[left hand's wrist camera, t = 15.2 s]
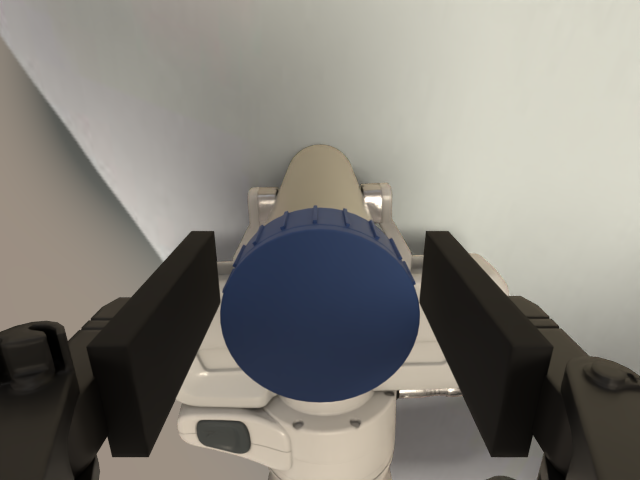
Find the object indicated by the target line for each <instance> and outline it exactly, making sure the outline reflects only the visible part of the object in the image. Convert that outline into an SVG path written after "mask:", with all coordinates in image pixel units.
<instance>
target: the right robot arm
mask: <svg viewBox="0 0 640 480" xmlns="http://www.w3.org/2000/svg"><path fill="white" fill-rule="evenodd" d="M360 189H361V192H362V194H363V196H364V199H365V201H366V204H367V206H368V209H369V211H370V214H371V216H372V219H373V221H374V223H379V225H380V226H381V228H382V230H383V231H384V233H385V235H386V236H387V237H388V238H389V239H390V238H392V239H393V240H394V242H395V244H396V246H397V248H398V250H399V252H400V254H401V256H402V258H403V259H402V261H405V262H406V264H407V266H408V268H409V270H410V272H411V274H412V276H413V278H414V280H415V283H416V285H414V287H415V289H416V293H417V296H418V300H419V299H420V288H421V278H422V268H423V257H424V255H412V253H411V251H410V249H409V248H408V246H407V244H406V242H405V240H404V239H403V237H402V235H401V233H400V232H399V230H398V228H397V227H396V225H395V223H394V221H393V220H392V190H391V186H390V185H389V184H388V183H369V184H361V186H360ZM278 192H279V188H278V187H254V188H251V189H250V190H249V192H248V211H249V221H250V224H249V226H248V228H247V230H246V232H245V234H244V236H243V238H242V240H241V242H240V245H239V247H238V249H237V251H236V253H235V255H234V257H233V259H232V260H233V261H225V262H217V268H218V278H219V288H220V299H221V300H222V297H223V293H222V290H223V288H224V286H225V284H226V282H227V280H228V278H229V275H230V273H231V271H232V269H233V268H234V267H233V264H234V262H235V260H236V258H237V255H238V253H239V251H240V249H241V247H242V246H243V244H244V245H245V246H246V245H247V243H248V242H249V240H250V239H251V238H252V237H253V236H254V235H255V234H256V233H257V231H258V229H259V227H260V226H261V225H263V226H265V224H266V221H267V219H268V216H269V214H270V211H271V209H272V206H273V204H274V202H275V199H276V197H277V194H278ZM469 254H470V255H471V257H472V258H473V259H474V260H475V261H476V262H477V263H478V264H479V265H480V266H481V267H482V269H483V270H484V271H485V272H486V273H487V274H488V275H489V276H490V277H491V278H492V280H493V281H494V282H495V283H496V284H497V285H498V286H499V287H500V288H501V289H502V291H503V292H504V293H505V294H506V295H507V296H509V290H508V286H507V284H506V282H505V281H504V279H503V278H502V277H501V275H500V274H499V273H498V272H497V271H496V269H495V268H494V267H493V266H492V265H491V264H489V263H488V262H487V261H486V260H485V259H484V258H483V257H482V256H480V255H478V254H474V253H469ZM220 308H221V303H220V305H219V308H218V310H217V312H216V314H215V316H214V318H213V320H212V323H211V325H210V327H209V329H208V331H207V333H206V335H205V338H204V340H203V342H202V344H201V346H200V348H199V350H198V352H197V355H196V357H195V359H194V361H193V363H192V365H191V367H190V370H189V372H188V374H187V376H186V378H185V380H184V382H183V385H182V387H181V389H180V391H179V393H178V395H177V397H176V400H177V401H179V402H181V403H182V406H181V409H180V413H179V417H178V421H177V427H178V432H179V435H180V437H181V439H182V440H183V441H185V442H186V443H188V444H191V445H194V446H199V447H203V448H208V449H213V450H217V451H222V452H225V453H229V454H233V455H237V456H240V457H243V458H246V459H249V460H252V461H255V462H257V463H260V464H262V465H265V466H267V467H268V468H269V470H270V473H269V478H268V480H392V477H391V473H390V469H389V466H390V464H391V461H392V458H393V452H394V446H395V419H396V400H397V399H398V398H423V397H430V396H438V395H440V396H442V395H446V396H447V397H458V396H463V395H462V393H461V391H460V389H459V387H458V385H457V382H456V380H455V378H454V376H453V374H452V372H451V370H450V367H449V365H448V363H447V361H446V359H445V357H444V355H443V352H442V350H441V348H440V346H439V344H438V342H437V340H436V338H435V335H434V333H433V331H432V329H431V327H430V325H429V323H428V320H427V318H426V316H425V314H424V312H423V310H422V308H421V305H420V303H419V308H420V324H419V330H418V335H417V338H416V341H415V344H414V346H413V348H412V350H411V352H410V354H409V356H408V358H407V359H406V361H405V362H404V363H403V365H402V366H401V367H400V368H399V369H398V370H397V372H396V373H395V374H394V375H392V376H391V377H390V378H389V379H388V380H387V381H385V382H384V383H382V384H381V385H379V386H378V387H376V388H375V389H373V390H371V391H369V392H367V393H365V394H362V395H359V396H357V397H354V398H350V399H346V400H342V401H335V402H323V403H317V402H305V401H298V400H294V399H290V398H286V397H283V396H281V395H278V394H276V393H273V392H271V391H269V390H267V389H266V388H264V387H262V386H261V385H259V384H258V383H256V382H255V381H253V380H252V379H251V378H250V377H249V376H248V375H246V374H245V373H244V372H243V370H242V369H241V368H240V367H239V366H238V365H237V363H236V362H235V360H234V359H233V357H232V356H231V354H230V352H229V350H228V348H227V346H226V344H225V341H224V338H223V335H222V330H221V324H220ZM486 480H515V479H513V478H510V477H506V476H494V477H491V478H489V479H486Z"/></svg>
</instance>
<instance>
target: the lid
mask: <svg viewBox="0 0 640 480" xmlns="http://www.w3.org/2000/svg"><path fill="white" fill-rule="evenodd" d="M402 259H403V258H402V256H401V254H400V252H399V250H398V248H397V246H396V244H395V242H394V240H393V239H392V238H390V239H389V238H388V237H387V236H386V235H385V234H384V233H383V232H382V231H381V230H380V229H379V228H378V227H377V226H375V224H374V221H372V220H371V219H370V221H368V220H366V219H364V218H362V217H360V216H358V215H356V214H353V213H350V212H347V209H345V208H343V210H339V209H333V208H317V205H314V206H313V208H307V209H302V210H296V211H293V212H290V213H289V212H288V211H285V212H284V215H282V216H280V217H278V218H276V219H274V220H272V221H271V222H269V223H268V224H266V225H265V226H263V225H261V226H260V227H259V229H258V231H257V233H256V234H255V235H254V236H253V237H252V238H251V239H250V240H249V242H248V243H247V245H246V246H245V245H244V244H243V246H242V247H241V249H240V251H239V253H238V255H237V258H236V260H235V262H234V264H233V267H234V268H233V269H232V271H231V273H230V275H229V278H228V280H227V282H226V284H225V286H224V288H223V290H222V293H223V297H222V300H221V308H220V324H221V330H222V335H223V338H224V341H225V344H226V346H227V348H228V350H229V352H230V354H231V356H232V357H233V359H234V360H235V362H236V363H237V365H238V366H239V367H240V368H241V369H242V370H243V372H244V373H245V374H246V375H248V376H249V377H250V378H251V379H252V380H253V381H255V382H256V383H258V384H259V385H261V386H262V387H264V388H266V389H267V390H269V391H271V392H273V393H276V394H278V395H281V396H283V397H286V398H290V399H294V400H298V401H305V402H317V403H323V402H335V401H342V400H346V399H350V398H354V397H357V396H359V395H362V394H365V393H367V392H369V391H371V390H373V389H375V388H376V387H378V386H379V385H381V384H382V383H384V382H385V381H387V380H388V379H389V378H390V377H391V376H392V375H394V374H395V373H396V372H397V370H398V369H399V368H400V367H401V366H402V365H403V363H404V362H405V361H406V359H407V358H408V356H409V354H410V352H411V350H412V348H413V346H414V344H415V341H416V338H417V335H418V330H419V324H420V308H419V300H418V296H417V293H416V289H415V287H414V285H416V283H415V280H414V278H413V276H412V274H411V272H410V270H409V268H408V266H407V264H406V262H405V261H402Z"/></svg>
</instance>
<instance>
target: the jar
mask: <svg viewBox="0 0 640 480" xmlns="http://www.w3.org/2000/svg"><path fill="white" fill-rule="evenodd" d="M314 205H317V208H333V209H339V210H343V208H345V209H347V212H350V213H353V214H356V215H358V216H360V217H362V218H364V219H366V220H368V221H370V219H371V220H372V221H373V219H372V216H371V214H370V211H369V209H368V206H367V204H366V201H365V199H364V196H363V194H362V192H361V189H360V187H359V184H358V182H357V179H356V177H355V174H354V172H353V169H352V167H351V164H350V162H349V161H348V159H347V158H346V156H345V155H344V154H343V153H342V152H341V151H339V150H338V149H336V148H334V147H331V146H328V145H321V144H320V145H312V146H309V147H306V148H304V149H302V150H301V151H299V152H298V153H297V154H296V155H295V156H294V158H293V159H292V161H291V162H290V164H289V167H288V169H287V172H286V174H285V177H284V179H283V182H282V184H281V187H280V189H279V192H278V194H277V197H276V199H275V202H274V204H273V206H272V209H271V211H270V214H269V216H268V219H267V221H266V224H268V223H269V222H271V221H272V220H274V219H276V218H278V217H280V216H282V215H284V212H285V211H288V212H289V213H290V212H293V211H296V210H302V209H307V208H313V206H314ZM266 224H265V225H266Z"/></svg>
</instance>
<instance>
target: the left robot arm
mask: <svg viewBox="0 0 640 480" xmlns="http://www.w3.org/2000/svg"><path fill="white" fill-rule="evenodd" d="M220 303H221V299H220V288H219V278H218V268H217V257H216V247H215V237H214V231H191V232H190V234H189V235H188V236H187V237H186V238H185V239H184V240H183V241H182V242H181V243H180V244H179V246H178V247H177V248H176V249H175V250H174V251H173V252H172V253H171V254H170V255H169V257H168V258H167V259H166V260H165V261H164V262H163V263H162V264H161V265H160V266H159V268H158V269H157V270H156V271H155V272H154V273H153V274H152V275H151V276H150V277H149V279H148V280H147V281H146V282H145V283H144V284H143V285H142V286H141V287H140V288H139V289H138V291H137V292H136V293H135V294H134V295H133V296H132V297H120V298H118V299H116V300H114V301H112V302H110V303H109V304H107V305H105V306H103V307H102V308H101V309H100V310H99V311H98V312H97V313H96V314H95V315H94V316H93V317H92V318H91V321H88V322H87V323H86V324H85V325H84V326H83V327H82V329H81V330H79V331H78V332H77V333H76V334H75V335H74V336H73V337H72V338H71V339H70V340H69V341H67V337H66V333H65V329H64V326H62V325H61V324H59V323H58V322H51V321H39V322H30V323H26V324H22V325H18V326H14V327H12V328H9V329H7V330H4V331H1V332H0V480H99V474H100V469H99V462H98V458H97V452H98V451H99V449H100V447H101V446H102V444H103V442H104V441H105V439H106V438H107V437H108V441H109V445H110V449H111V453H112V457H149V455H150V453H151V451H152V449H153V447H154V444H155V442H156V440H157V438H158V436H159V434H160V432H161V429H162V427H163V425H164V423H165V421H166V419H167V417H168V415H169V412H170V410H171V408H172V406H173V404H174V402H175V400H176V397H177V395H178V393H179V391H180V389H181V387H182V385H183V382H184V380H185V378H186V376H187V374H188V372H189V370H190V367H191V365H192V363H193V361H194V359H195V357H196V355H197V352H198V350H199V348H200V346H201V344H202V342H203V340H204V338H205V335H206V333H207V331H208V329H209V327H210V325H211V323H212V320H213V318H214V316H215V314H216V312H217V310H218V308H219V305H220ZM419 303H420V305H421V308H422V310H423V312H424V314H425V316H426V318H427V320H428V323H429V325H430V327H431V329H432V331H433V333H434V335H435V338H436V340H437V342H438V344H439V346H440V348H441V350H442V352H443V355H444V357H445V359H446V361H447V363H448V365H449V367H450V370H451V372H452V374H453V376H454V378H455V380H456V382H457V385H458V387H459V389H460V391H461V393H462V395H463V397H464V400H465V402H466V404H467V406H468V408H469V410H470V412H471V415H472V417H473V419H474V421H475V423H476V425H477V427H478V430H479V432H480V434H481V436H482V438H483V440H484V442H485V444H486V447H487V449H488V451H489V453H490V455H491V457H528V453H529V449H530V445H531V441H532V437H533V435H534V437H535V439H536V440H537V442H538V444H539V445H540V447H541V448H542V450H543V452H544V454H543V458H542V462H541V466H540V470H539V474H538V478H537V480H640V376H639V375H637V374H636V373H635V372H633V371H632V370H630V369H629V368H627V367H624V366H622V365H620V364H618V363H616V362H613V361H610V360H606V359H602V358H599V357H590V356H589V355H588V354H587V353H586V352H585V351H583V350H582V349H581V348H580V347H579V346H578V345H577V344H576V343H575V342H574V341H573V340H572V339H571V338H570V337H569V336H568V335H567V334H566V333H565V332H564V331H563V330H562V329H559V326H558V325H557V324H556V323H555V322H554V321H553V320H552V319H549V316H548V315H547V314H546V313H545V312H544V311H543V310H542V309H541V308H540V307H539V306H538V305H536V304H534V303H532V302H531V301H529V300H527V299H525V298H523V297H521V296H507V295H506V294H505V293H504V292H503V291H502V289H501V288H500V287H499V286H498V285H497V284H496V283H495V282H494V281H493V280H492V278H491V277H490V276H489V275H488V274H487V273H486V272H485V271H484V270H483V269H482V267H481V266H480V265H479V264H478V263H477V262H476V261H475V260H474V259H473V258H472V257H471V255H470V254H469V253H468V252H467V251H466V250H465V249H464V248H463V247H462V246H461V244H460V243H459V242H458V241H457V240H456V239H455V238H454V237H453V236H452V235H451V234H450V232H449V231H426V237H425V247H424V257H423V268H422V278H421V288H420V299H419Z"/></svg>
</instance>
